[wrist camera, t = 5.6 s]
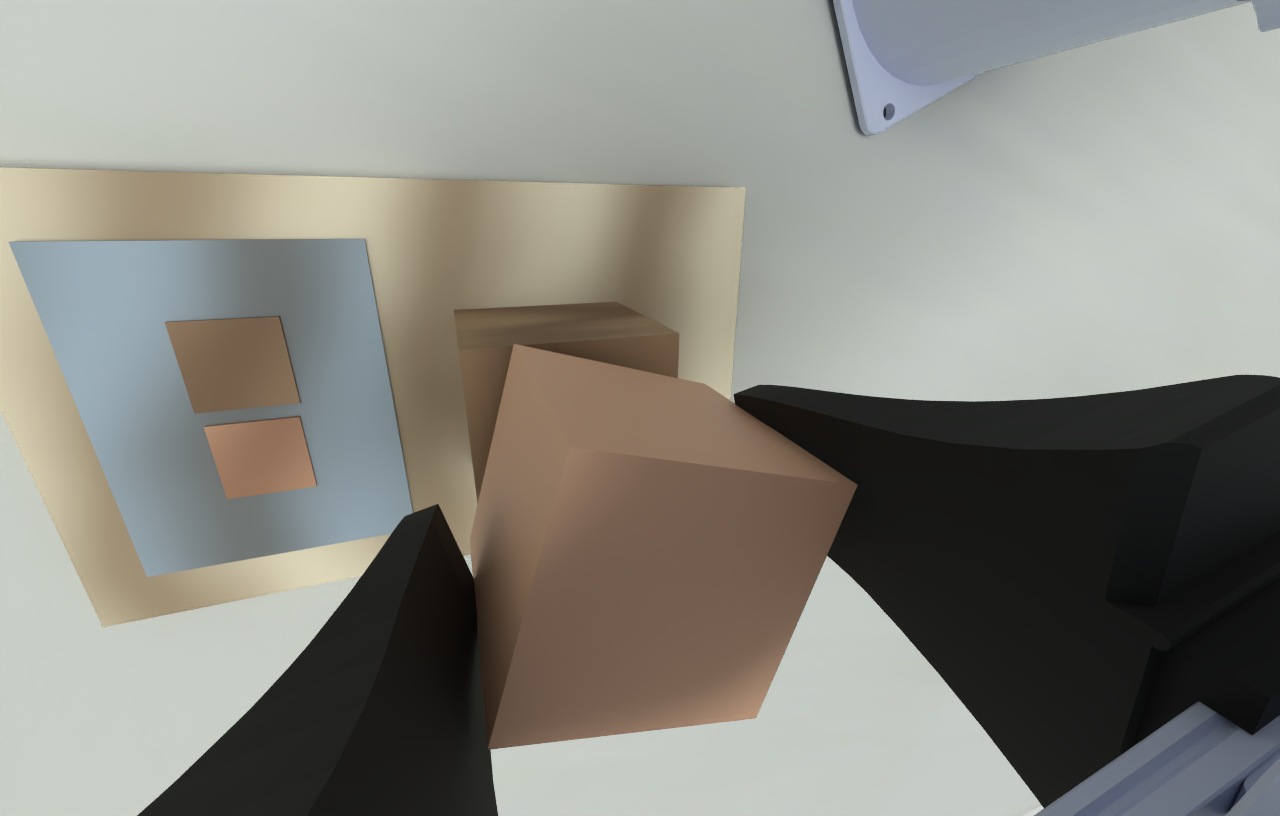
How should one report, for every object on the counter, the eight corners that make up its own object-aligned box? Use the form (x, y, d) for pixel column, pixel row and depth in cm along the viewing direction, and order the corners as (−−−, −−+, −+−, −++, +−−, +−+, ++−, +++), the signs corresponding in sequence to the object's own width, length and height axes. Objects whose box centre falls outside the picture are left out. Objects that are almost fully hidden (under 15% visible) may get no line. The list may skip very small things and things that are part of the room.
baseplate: (730, 188, 18) (853, 178, 12) (711, 492, 22) (797, 581, 17) (-72, 168, 11) (-534, 126, 6) (122, 603, 15) (-44, 805, 10)
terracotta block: (705, 383, 12) (857, 485, 8) (650, 547, 13) (755, 718, 9) (513, 343, 10) (568, 447, 6) (469, 538, 11) (487, 750, 7)
